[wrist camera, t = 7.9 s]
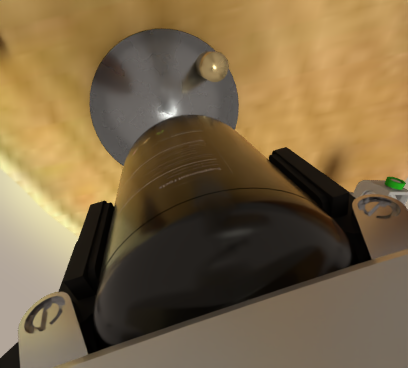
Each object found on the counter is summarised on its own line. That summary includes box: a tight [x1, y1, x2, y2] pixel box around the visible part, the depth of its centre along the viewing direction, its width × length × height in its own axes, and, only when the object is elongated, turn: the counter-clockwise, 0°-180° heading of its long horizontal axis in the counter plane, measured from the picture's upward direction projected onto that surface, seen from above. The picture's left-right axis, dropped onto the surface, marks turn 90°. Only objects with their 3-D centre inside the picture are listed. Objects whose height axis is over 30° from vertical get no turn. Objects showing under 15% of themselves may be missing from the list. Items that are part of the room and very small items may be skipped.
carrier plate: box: [90, 29, 239, 166], centre depth 25 cm, size 15×15×4 cm
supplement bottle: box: [92, 115, 360, 351], centre depth 8 cm, size 7×7×12 cm
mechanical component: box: [350, 177, 408, 205], centre depth 31 cm, size 3×10×10 cm, turn 173°
